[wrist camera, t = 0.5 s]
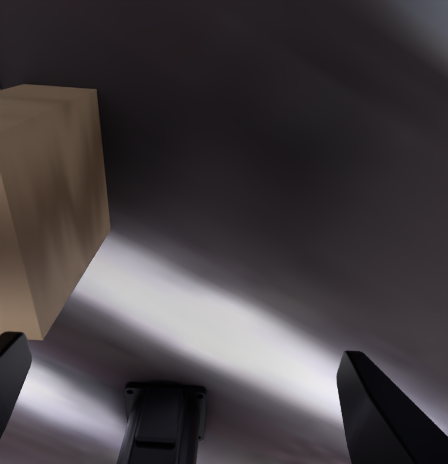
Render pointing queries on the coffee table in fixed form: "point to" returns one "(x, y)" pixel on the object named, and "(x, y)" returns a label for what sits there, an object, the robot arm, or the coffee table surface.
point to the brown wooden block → (48, 201)
